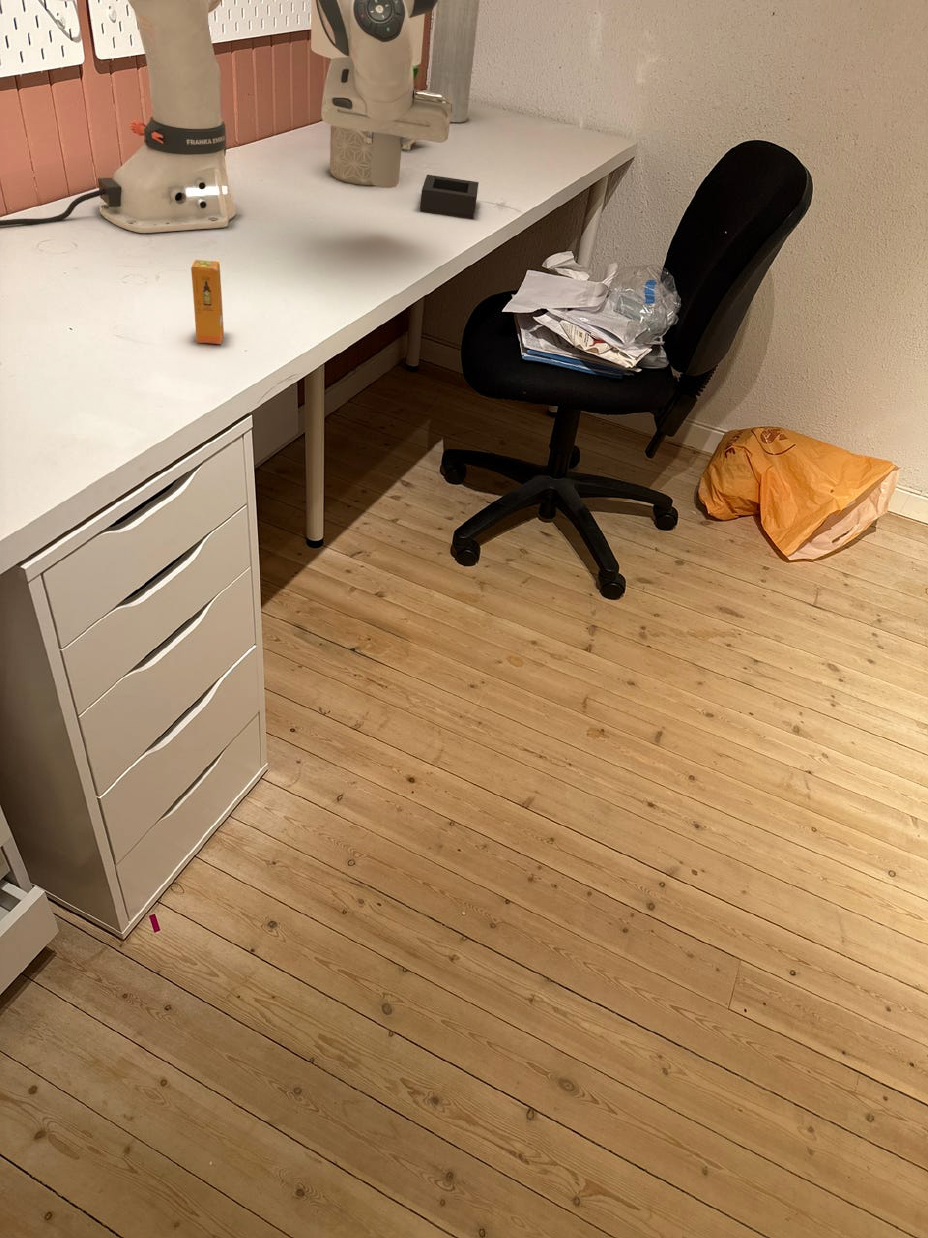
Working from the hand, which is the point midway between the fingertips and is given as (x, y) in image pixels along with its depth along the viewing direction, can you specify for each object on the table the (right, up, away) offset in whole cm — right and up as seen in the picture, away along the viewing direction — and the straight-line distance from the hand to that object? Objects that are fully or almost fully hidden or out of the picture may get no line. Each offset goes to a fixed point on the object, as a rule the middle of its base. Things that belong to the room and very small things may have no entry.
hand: (387, 141), depth 152 cm
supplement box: (-21, -42, -29) cm, 55 cm away
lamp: (-8, +11, +35) cm, 38 cm away
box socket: (+10, +1, +27) cm, 28 cm away
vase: (+8, +49, +83) cm, 97 cm away
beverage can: (-1, -5, +4) cm, 7 cm away
